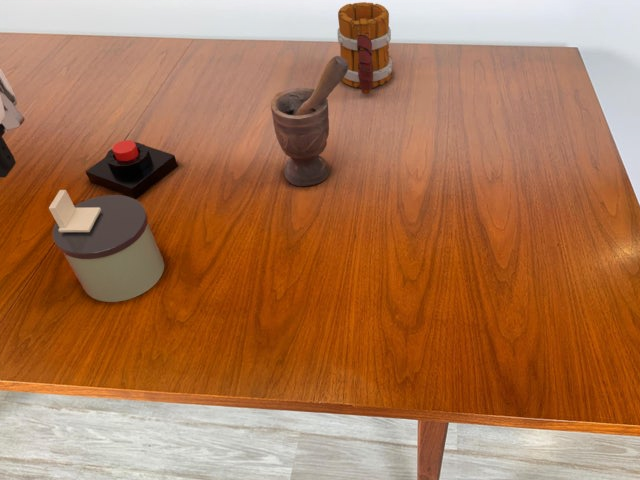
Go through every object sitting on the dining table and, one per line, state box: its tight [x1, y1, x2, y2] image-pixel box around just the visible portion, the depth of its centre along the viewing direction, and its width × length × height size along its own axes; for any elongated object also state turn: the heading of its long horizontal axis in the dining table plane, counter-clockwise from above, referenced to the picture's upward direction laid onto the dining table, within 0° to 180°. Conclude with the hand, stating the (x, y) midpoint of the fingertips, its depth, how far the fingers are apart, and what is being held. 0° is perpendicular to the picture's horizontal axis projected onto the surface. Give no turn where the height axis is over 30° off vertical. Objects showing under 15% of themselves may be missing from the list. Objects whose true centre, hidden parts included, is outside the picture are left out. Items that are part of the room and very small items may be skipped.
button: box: [111, 139, 139, 161], centre depth 93 cm, size 4×4×2 cm
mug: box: [337, 1, 393, 95], centre depth 111 cm, size 11×16×15 cm, turn 2°
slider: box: [48, 189, 101, 232], centre depth 73 cm, size 4×4×4 cm
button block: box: [85, 139, 179, 200], centre depth 95 cm, size 10×10×4 cm
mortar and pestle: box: [270, 55, 348, 187], centre depth 89 cm, size 12×9×20 cm
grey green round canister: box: [52, 194, 165, 303], centre depth 78 cm, size 11×11×9 cm
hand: (3, 170), depth 68 cm, fingers closed
